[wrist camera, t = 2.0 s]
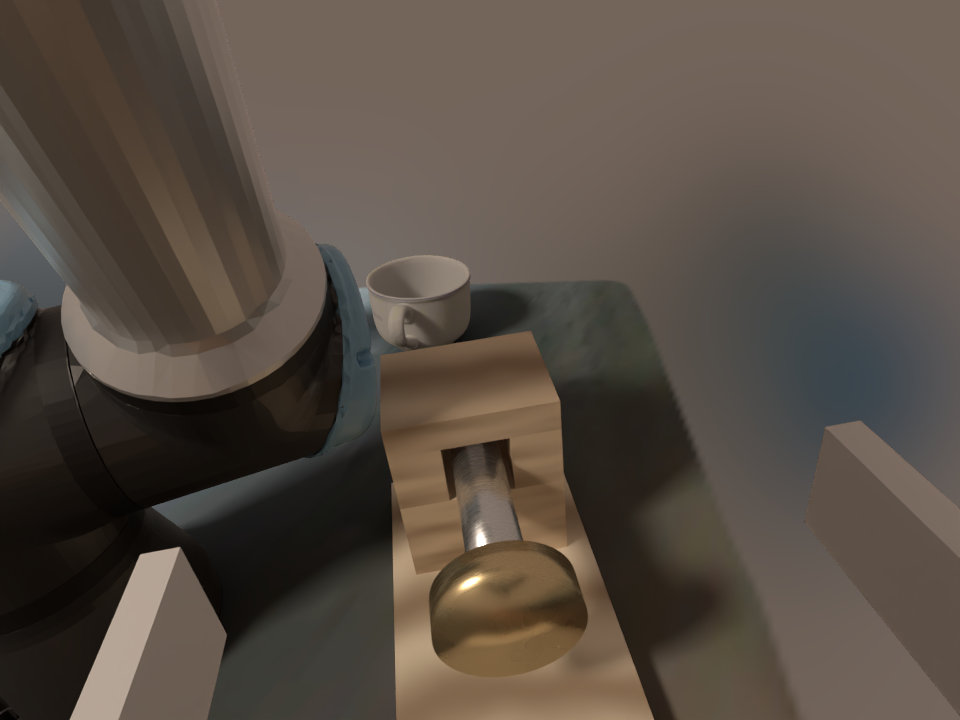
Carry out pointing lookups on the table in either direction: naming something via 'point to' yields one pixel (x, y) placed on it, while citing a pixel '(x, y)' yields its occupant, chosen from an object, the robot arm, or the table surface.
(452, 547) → the bearing stand
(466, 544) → the shaft
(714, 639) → the table surface
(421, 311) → the teacup
